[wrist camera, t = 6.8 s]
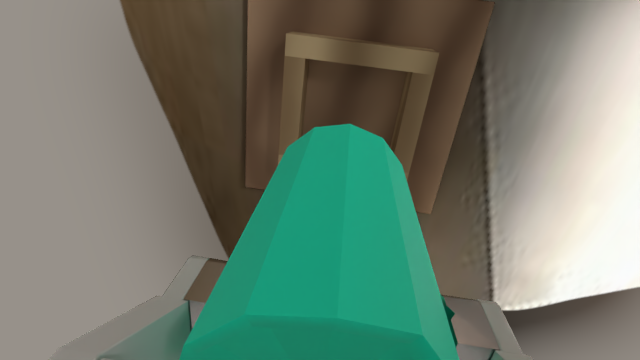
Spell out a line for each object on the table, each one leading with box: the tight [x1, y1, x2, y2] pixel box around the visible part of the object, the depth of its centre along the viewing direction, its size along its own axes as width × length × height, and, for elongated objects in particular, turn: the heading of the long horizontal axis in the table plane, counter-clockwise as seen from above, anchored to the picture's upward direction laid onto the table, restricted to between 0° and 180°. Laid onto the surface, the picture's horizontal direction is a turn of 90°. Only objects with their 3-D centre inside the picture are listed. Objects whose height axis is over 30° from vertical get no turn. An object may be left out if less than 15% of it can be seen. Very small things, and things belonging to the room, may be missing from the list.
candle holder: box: [245, 0, 495, 214], centre depth 28 cm, size 18×18×4 cm
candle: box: [179, 124, 459, 360], centre depth 11 cm, size 6×6×12 cm
